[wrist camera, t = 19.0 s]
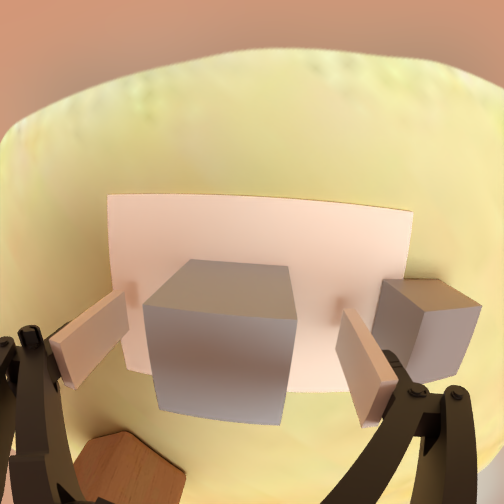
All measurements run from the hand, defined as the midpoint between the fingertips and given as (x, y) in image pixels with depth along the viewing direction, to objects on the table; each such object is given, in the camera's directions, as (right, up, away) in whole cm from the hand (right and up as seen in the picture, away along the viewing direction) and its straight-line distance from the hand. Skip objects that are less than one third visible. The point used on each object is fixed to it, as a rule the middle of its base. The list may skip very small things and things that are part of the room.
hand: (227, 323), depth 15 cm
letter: (+1, +1, +2) cm, 3 cm away
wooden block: (-13, -21, +9) cm, 26 cm away
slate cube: (0, +1, +2) cm, 2 cm away
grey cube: (+12, 0, +1) cm, 12 cm away
